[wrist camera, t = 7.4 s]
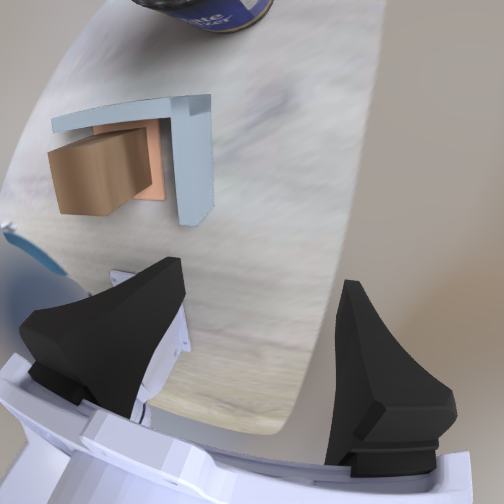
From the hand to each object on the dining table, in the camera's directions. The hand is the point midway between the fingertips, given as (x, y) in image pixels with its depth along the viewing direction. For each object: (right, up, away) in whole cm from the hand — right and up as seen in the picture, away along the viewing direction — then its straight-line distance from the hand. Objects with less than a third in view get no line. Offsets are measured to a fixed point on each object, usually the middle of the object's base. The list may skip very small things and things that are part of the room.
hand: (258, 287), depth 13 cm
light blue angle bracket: (-9, +9, +8) cm, 15 cm away
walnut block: (-10, +9, +8) cm, 16 cm away
